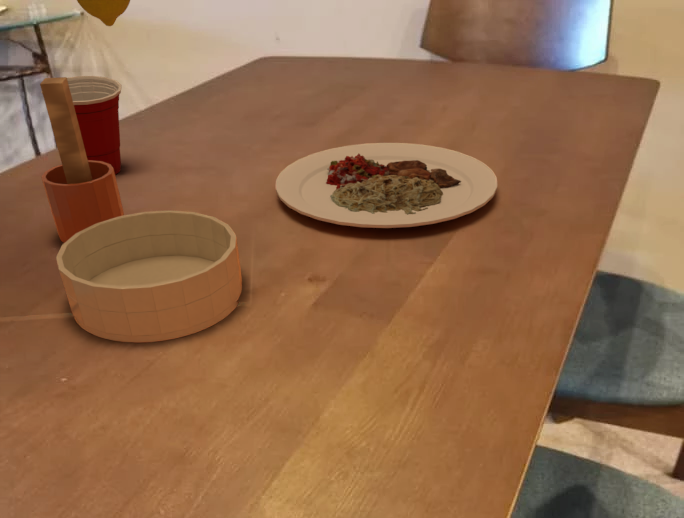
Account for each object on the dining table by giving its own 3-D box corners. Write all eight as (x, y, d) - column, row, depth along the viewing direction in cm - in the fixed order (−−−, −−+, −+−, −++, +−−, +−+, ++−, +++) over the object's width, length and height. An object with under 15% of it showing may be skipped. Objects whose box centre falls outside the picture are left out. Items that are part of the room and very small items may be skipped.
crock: (54, 252, 88) (34, 187, 83) (68, 224, 94) (50, 162, 89) (122, 248, 88) (106, 183, 83) (132, 221, 94) (117, 158, 89)
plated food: (455, 256, 84) (458, 228, 82) (235, 218, 94) (232, 192, 92) (520, 169, 105) (524, 145, 102) (333, 146, 115) (332, 123, 112)
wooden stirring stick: (72, 240, 89) (28, 86, 78) (79, 225, 92) (37, 76, 81) (108, 238, 89) (69, 84, 78) (113, 223, 92) (77, 74, 81)
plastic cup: (86, 191, 103) (62, 101, 95) (52, 172, 109) (27, 85, 101) (152, 171, 108) (135, 84, 100) (116, 154, 114) (97, 70, 106)
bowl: (55, 348, 72) (37, 293, 68) (90, 264, 85) (76, 215, 81) (240, 336, 72) (232, 282, 68) (244, 255, 86) (238, 206, 82)
